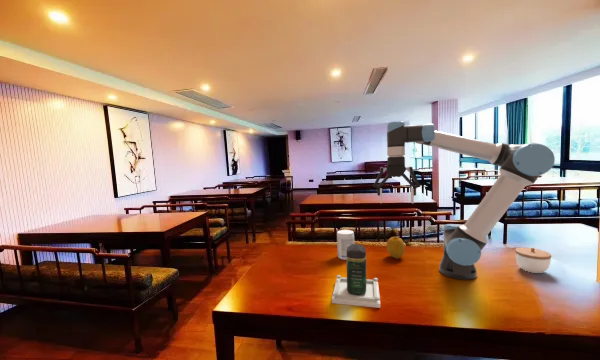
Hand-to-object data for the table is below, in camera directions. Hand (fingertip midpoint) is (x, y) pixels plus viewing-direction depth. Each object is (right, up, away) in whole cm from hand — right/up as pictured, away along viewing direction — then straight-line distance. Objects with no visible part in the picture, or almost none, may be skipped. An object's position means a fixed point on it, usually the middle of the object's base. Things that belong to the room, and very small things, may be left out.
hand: (396, 202), depth 120 cm
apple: (+9, -33, +25) cm, 42 cm away
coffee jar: (-21, -35, -13) cm, 43 cm away
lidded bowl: (+65, -33, +3) cm, 73 cm away
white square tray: (-21, -36, -12) cm, 44 cm away
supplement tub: (-18, -34, +28) cm, 47 cm away
